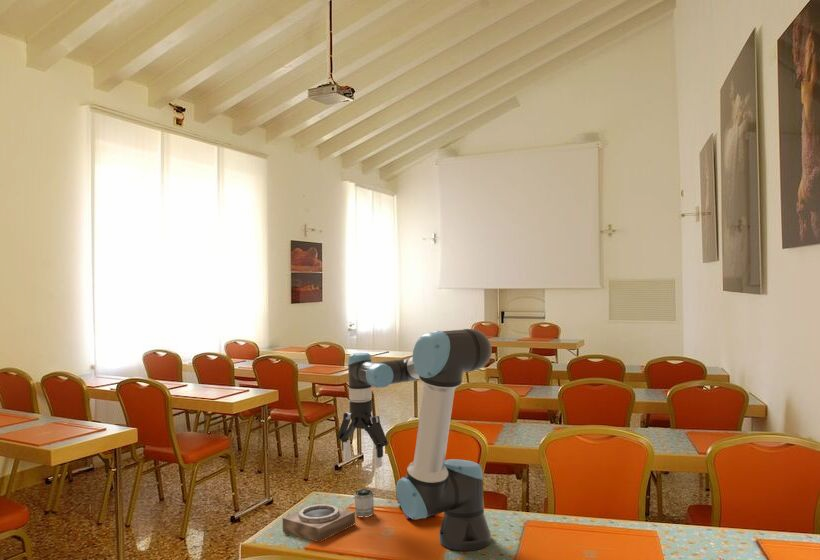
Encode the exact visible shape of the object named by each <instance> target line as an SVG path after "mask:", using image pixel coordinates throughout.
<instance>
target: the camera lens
mask: <svg viewBox="0 0 820 560" xmlns="http://www.w3.org/2000/svg"><path fill="white" fill-rule="evenodd" d="M353 496H354V512H355V516H356V515H357V516H363V517H365V516H369V515H371V514H373V513H375V512H374V509H375V507H374V506H375V505H374V504H375V503H374V502H375V501H374V492H373V491H372V490H370V489H367V488H362V489H359V490H357V491H355V492H354V495H353ZM373 515H374V514H373ZM357 516H356V517H357Z"/></svg>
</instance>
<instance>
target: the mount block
mask: <svg viewBox="0 0 820 560" xmlns="http://www.w3.org/2000/svg"><path fill="white" fill-rule="evenodd" d="M354 523H355V524H356V513H355V511H353V510H349V509H344V508H341V507H338V506H336V505H333V504H328V503H322V502H317V503H315V504H312V505H311V504H310V505H307V506H305V507H303V508H301V509H300V510H298V511H296V512H294V513H291V514H289V515H286V516H284V517H282V532H286V533H288V534H292V535H296V536H298V537H302V538H305V539H309V540H311V541H314V540H317V541H316V542H318V541H321V540H323V539H325V538H327V537H329V536H331V535H333V534H335V533H337V532H339V531H341V530H343V529H345V528H347V527H349V526H351V525H353V524H354ZM353 526H354V525H353ZM351 527H352V526H351ZM349 528H350V527H349ZM347 529H348V528H347ZM345 530H346V529H345ZM343 531H344V530H343ZM341 532H342V531H341ZM339 533H340V532H339ZM337 534H338V533H337ZM335 535H336V534H335ZM333 536H334V535H333ZM331 537H332V536H331ZM329 538H330V537H329ZM327 539H328V538H327ZM325 540H326V539H325ZM323 541H324V540H323ZM321 542H322V541H321Z"/></svg>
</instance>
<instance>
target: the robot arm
mask: <svg viewBox="0 0 820 560" xmlns="http://www.w3.org/2000/svg"><path fill="white" fill-rule="evenodd" d="M492 350H493V348H492V344H491V342H490V340H489V338H488V337H487V336H486V335H485V333H483V332H482V331H480V330H478V329H474V328H463V329H453V330H444V331H443V330H442V331H441V330H435V331H433V332H428V333H425V334H422V335H421V336H420V337H418V339H417V341H416V342H415V345H414V347H413V349H412V356H411V357H407V358H402V359H393V360H385V361H372V357H371V354H370V353H368V352H355V353H351V354H349V355H348V359H347V361H348V363H347V364H348V365H347V369H348V399H349V404H348V405H349V411H347V412H344V413H343V417H342V418H343V419H342V422H341V425H340V428H339V430H338V433H337V436H336V438H337V440H340V442H341V450H342V451H343V462H344V463H346V462H349V461H351V460H352V456H351V451H352V450H351V449H352V447H351V440H350V438H351V437H352V434H353V433H354V431H355V430H356V429H361V430H364V431H365V432H366V433H367V434H368V436H369V437H370V438H371V441H372V443H373V444H374V446H375V447H374V448H373V449H374V452H373V454H374V469H379V468H381V467H382V466H383V465H382V464H383V461H382V459H383V456H384V447H386V446H388V444H389V442H388V440H387V436H386V434H385V432H384V429H383V427H382V424H381V421H380V416H379V415H376V416H372V411H373V401H372V397H373V395H372V393H373V392H372V391H373V389H372V388H373V387H374V388H376V389H377V388H382V389H383V388H387V387H388V386H389V385H393V384H395V385H396V384H399V383H400V384H401V383H406V382H407V383H408V382H417V381H420V382H421V383H422V384H423V388H422V393H421V402H420V410H419V417H418V418H419V419H418V425H417V426H418V427H417V433H416V443H415V449H414V458H413V461H411V462H410V463H409V464H408V465H407V468H406V475H405V476H402V477H401V478H399V479H398V481H397V482H396V488H395V490H396V499H397V498H398V501H399V503H400V504H399V503H398V504H399V506H400V508H401V510H402V512H403V511H404V513H405V514H406V515H407V516H408V517H409V518H411V519H410V520H419V519H426V518H427V517H432V515H434V516H435V515H437V514H442V513H444V514H443V519H442V522H441V525H440V528H439V533H438V537H439V538H438V541H439V543H440V545H442V546H444V547H445V548H447V549H451V550H454V551H461V552H465V551H466V552H468V551H476V550H481V549H483V548H486V547H487V546H489V545H490V544H491V542H492V539H491V538H492V536H491V531H490V528H489V525H488V521H487V519H486V516H485V511H484V510H485V509H484V508H485V507H484V505H485V504H484V476H483V475H484V474H483V468H482V466H481V465H480V464H479V463H477V462H474V461H472V460H467V459H466V460H465V459H459V458H458V459H456V458H454V459H453V458H452V459H451V458H450V459H446V455H447V449H448V440H449V434H450V433H449V432H450V428H451V420H452V413H453V406H454V405H453V404H454V400H455V399H454V398H455V391H456V389H457V388H458V387H460V386H461V385H462V382H463V375H464V373H468V372H474V371H477V370H480V369H482V368H484V367H485V366H486V365H488V363H489V362H490V360H491V357H492V352H493V351H492ZM350 421H351V422H350ZM404 513H403V514H404Z"/></svg>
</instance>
